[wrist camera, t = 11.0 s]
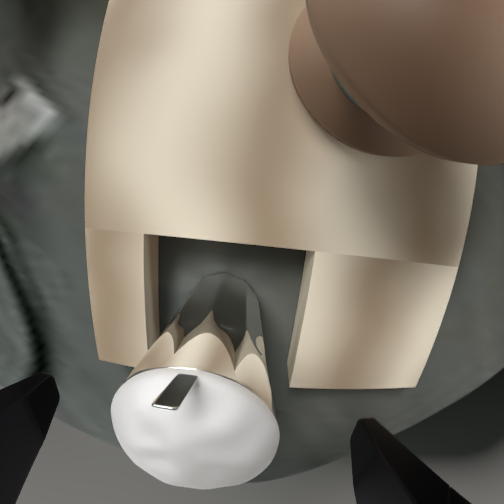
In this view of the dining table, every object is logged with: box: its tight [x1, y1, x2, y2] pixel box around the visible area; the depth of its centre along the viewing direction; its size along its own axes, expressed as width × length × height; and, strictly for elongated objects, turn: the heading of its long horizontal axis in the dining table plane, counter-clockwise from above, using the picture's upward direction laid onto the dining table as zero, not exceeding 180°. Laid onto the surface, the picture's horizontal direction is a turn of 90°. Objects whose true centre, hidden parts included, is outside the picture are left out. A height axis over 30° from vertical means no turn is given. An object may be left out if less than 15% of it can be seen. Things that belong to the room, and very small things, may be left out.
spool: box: [288, 0, 504, 165], centre depth 7 cm, size 7×7×6 cm
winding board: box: [85, 0, 478, 389], centre depth 12 cm, size 16×20×2 cm
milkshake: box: [111, 273, 280, 489], centre depth 10 cm, size 5×5×10 cm
